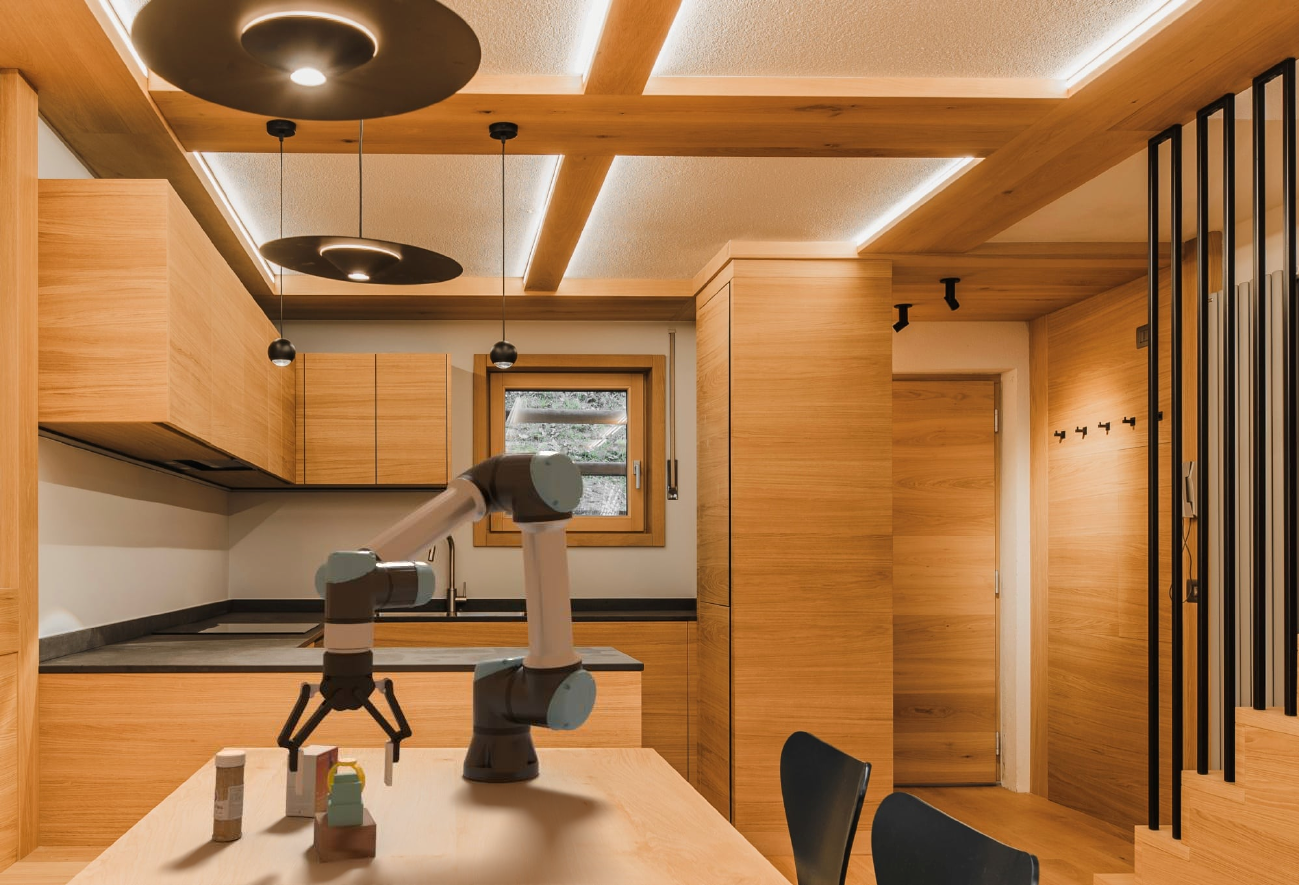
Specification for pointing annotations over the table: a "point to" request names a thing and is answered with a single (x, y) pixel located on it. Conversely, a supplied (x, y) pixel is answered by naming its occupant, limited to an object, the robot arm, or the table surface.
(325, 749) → the small box
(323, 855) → the bottom block
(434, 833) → the table surface
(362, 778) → the watch
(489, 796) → the table surface
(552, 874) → the table surface
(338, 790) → the top block
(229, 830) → the sprinkles bottle
